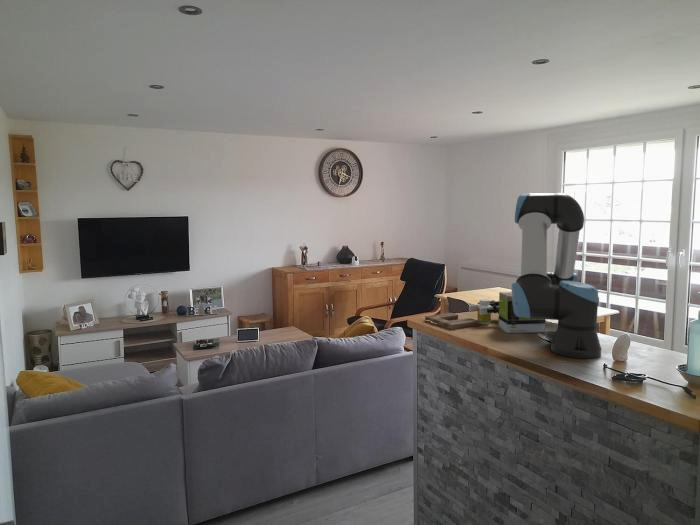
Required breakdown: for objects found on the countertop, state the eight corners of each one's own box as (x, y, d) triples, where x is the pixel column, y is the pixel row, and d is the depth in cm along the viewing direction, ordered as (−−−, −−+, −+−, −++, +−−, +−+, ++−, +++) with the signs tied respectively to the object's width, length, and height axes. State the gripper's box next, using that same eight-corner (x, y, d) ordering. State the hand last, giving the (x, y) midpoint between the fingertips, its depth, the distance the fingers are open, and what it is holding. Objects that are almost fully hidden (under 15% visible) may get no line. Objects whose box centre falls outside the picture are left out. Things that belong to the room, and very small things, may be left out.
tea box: (534, 326, 197) (536, 290, 195) (545, 333, 187) (547, 295, 185) (497, 327, 196) (499, 290, 194) (506, 333, 186) (507, 295, 185)
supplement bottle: (481, 324, 200) (481, 301, 199) (474, 321, 205) (475, 299, 204) (493, 324, 201) (493, 300, 200) (486, 321, 206) (487, 298, 205)
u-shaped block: (478, 325, 199) (478, 320, 199) (452, 329, 192) (452, 324, 192) (450, 317, 214) (450, 312, 213) (425, 320, 207) (425, 316, 207)
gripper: (532, 317, 203) (491, 323, 192) (498, 308, 219) (459, 314, 208) (532, 299, 203) (491, 305, 191) (499, 292, 219) (459, 297, 207)
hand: (475, 310), depth 200 cm, fingers closed on supplement bottle, 5 cm apart
